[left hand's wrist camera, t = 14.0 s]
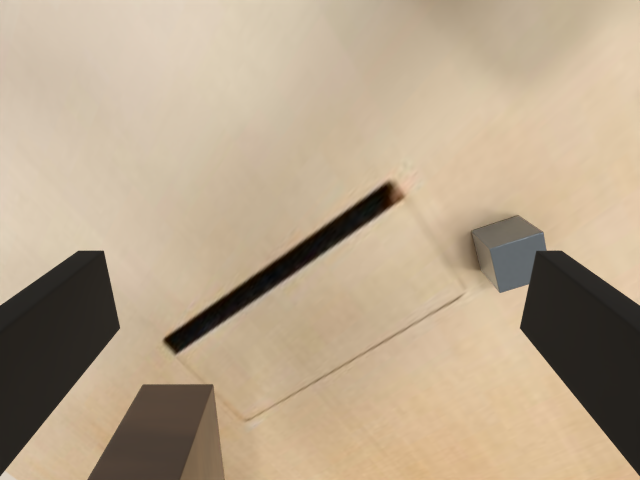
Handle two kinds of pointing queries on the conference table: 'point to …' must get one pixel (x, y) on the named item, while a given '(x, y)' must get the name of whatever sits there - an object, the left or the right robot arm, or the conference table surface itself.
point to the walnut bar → (165, 437)
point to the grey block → (508, 251)
